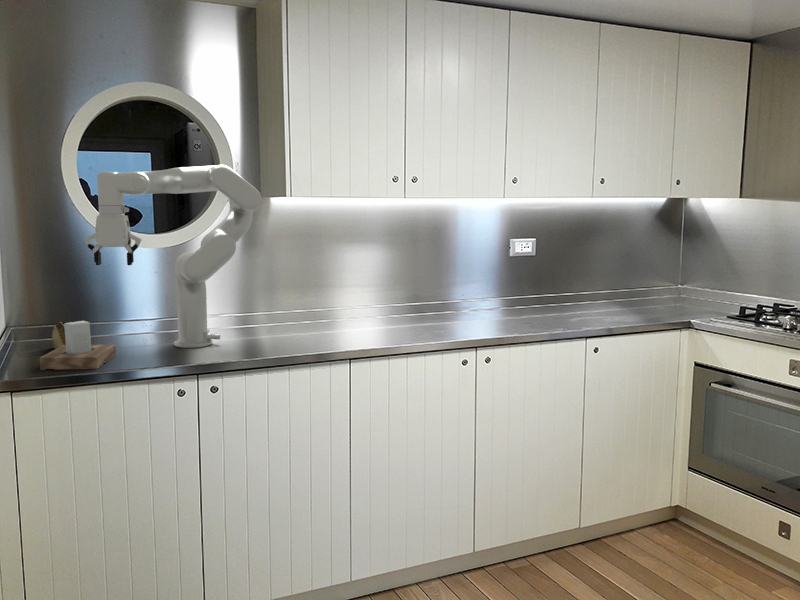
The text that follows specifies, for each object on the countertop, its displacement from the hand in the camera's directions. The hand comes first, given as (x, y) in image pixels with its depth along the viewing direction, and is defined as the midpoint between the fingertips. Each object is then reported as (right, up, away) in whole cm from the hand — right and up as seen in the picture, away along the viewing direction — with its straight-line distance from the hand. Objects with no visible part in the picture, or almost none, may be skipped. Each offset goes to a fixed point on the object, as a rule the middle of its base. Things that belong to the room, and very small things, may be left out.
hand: (114, 264), depth 227 cm
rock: (-19, -28, +6) cm, 34 cm away
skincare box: (-6, -30, -11) cm, 33 cm away
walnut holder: (-6, -30, -11) cm, 33 cm away
